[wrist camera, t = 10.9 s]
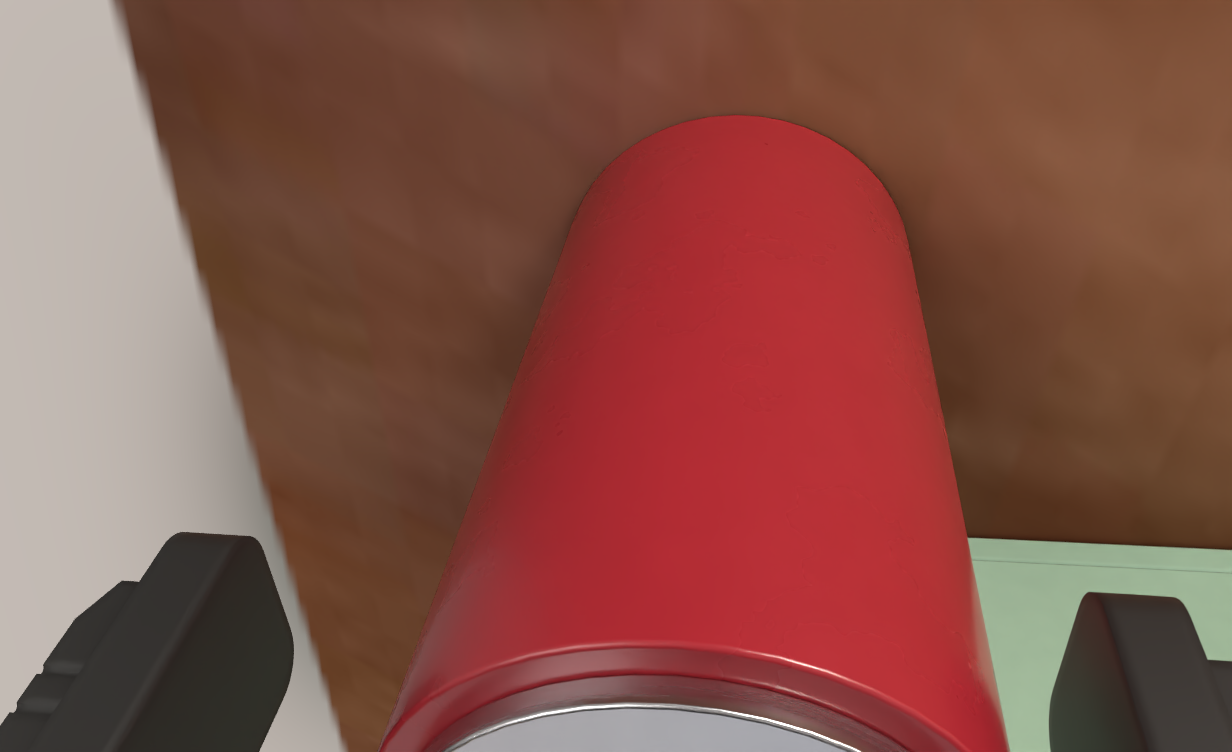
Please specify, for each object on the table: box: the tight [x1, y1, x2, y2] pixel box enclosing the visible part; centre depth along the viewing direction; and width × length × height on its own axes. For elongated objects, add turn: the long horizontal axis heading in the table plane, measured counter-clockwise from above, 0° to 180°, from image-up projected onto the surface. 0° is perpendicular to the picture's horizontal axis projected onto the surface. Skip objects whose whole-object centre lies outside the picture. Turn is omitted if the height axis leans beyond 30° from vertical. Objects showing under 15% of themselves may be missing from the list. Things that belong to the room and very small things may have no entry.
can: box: [377, 115, 1010, 752], centre depth 13 cm, size 6×6×10 cm
